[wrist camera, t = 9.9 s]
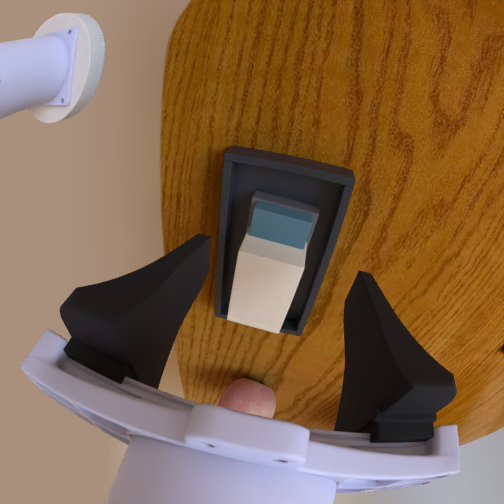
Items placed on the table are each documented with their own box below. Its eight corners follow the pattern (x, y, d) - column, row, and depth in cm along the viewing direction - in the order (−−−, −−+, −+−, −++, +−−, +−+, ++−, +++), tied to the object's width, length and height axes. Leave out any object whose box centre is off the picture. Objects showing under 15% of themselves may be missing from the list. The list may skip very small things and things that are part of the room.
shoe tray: (232, 145, 19) (224, 152, 17) (352, 170, 18) (356, 179, 16) (220, 302, 29) (214, 316, 27) (302, 321, 28) (300, 336, 26)
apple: (224, 361, 36) (207, 412, 29) (280, 370, 34) (269, 424, 28) (231, 387, 40) (217, 431, 34) (279, 395, 39) (269, 441, 32)
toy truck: (286, 300, 26) (279, 337, 22) (237, 287, 26) (223, 321, 23) (319, 207, 20) (318, 238, 16) (255, 190, 20) (240, 218, 17)
